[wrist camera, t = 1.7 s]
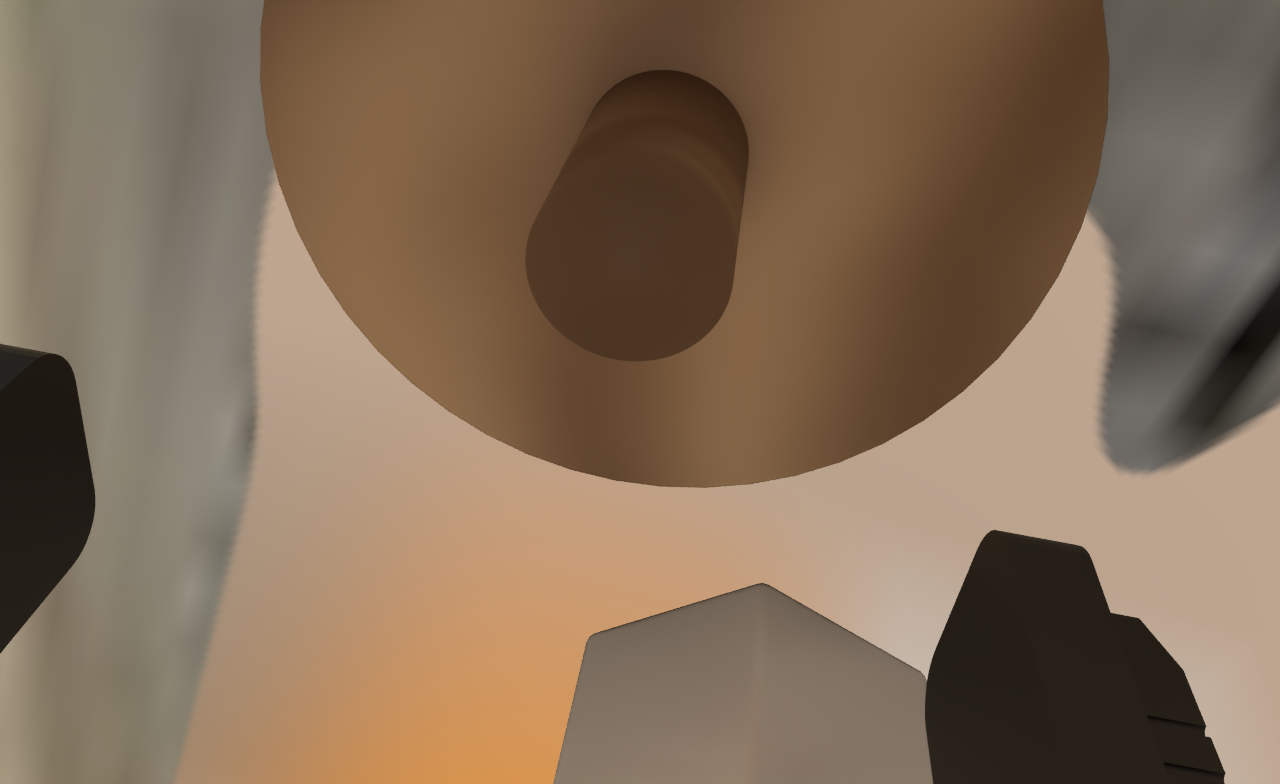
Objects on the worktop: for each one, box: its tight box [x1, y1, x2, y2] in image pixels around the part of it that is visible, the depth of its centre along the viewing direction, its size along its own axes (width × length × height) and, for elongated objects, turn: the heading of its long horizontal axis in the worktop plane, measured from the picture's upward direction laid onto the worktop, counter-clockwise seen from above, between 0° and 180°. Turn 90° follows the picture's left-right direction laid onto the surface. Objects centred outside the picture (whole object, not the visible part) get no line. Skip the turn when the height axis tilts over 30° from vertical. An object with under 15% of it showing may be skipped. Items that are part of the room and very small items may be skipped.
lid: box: [260, 0, 1109, 488], centre depth 17 cm, size 14×14×6 cm
